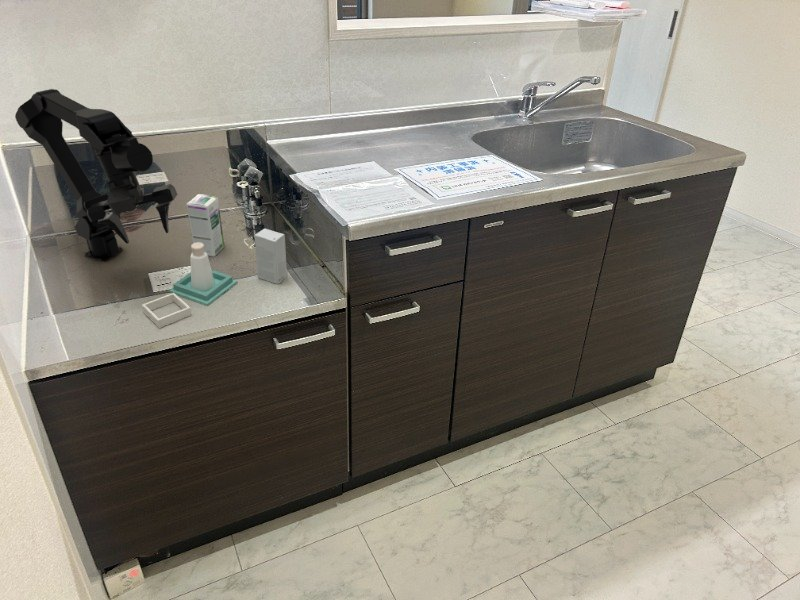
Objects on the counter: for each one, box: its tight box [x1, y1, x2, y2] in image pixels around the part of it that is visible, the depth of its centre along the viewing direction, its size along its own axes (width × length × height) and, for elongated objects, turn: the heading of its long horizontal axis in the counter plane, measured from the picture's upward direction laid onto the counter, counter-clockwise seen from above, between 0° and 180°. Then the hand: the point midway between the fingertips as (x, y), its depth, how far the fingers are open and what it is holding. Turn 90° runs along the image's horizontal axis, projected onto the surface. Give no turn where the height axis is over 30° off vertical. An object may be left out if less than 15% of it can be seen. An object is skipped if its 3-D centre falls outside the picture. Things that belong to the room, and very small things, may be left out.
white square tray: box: [141, 293, 192, 329], centre depth 133 cm, size 8×8×2 cm
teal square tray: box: [168, 269, 238, 307], centre depth 142 cm, size 11×11×2 cm
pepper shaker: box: [189, 242, 215, 291], centre depth 139 cm, size 5×5×11 cm
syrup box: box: [186, 193, 225, 258], centre depth 153 cm, size 6×6×14 cm
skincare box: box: [253, 228, 288, 285], centre depth 145 cm, size 6×4×12 cm
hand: (147, 237), depth 138 cm, fingers open, 9 cm apart
